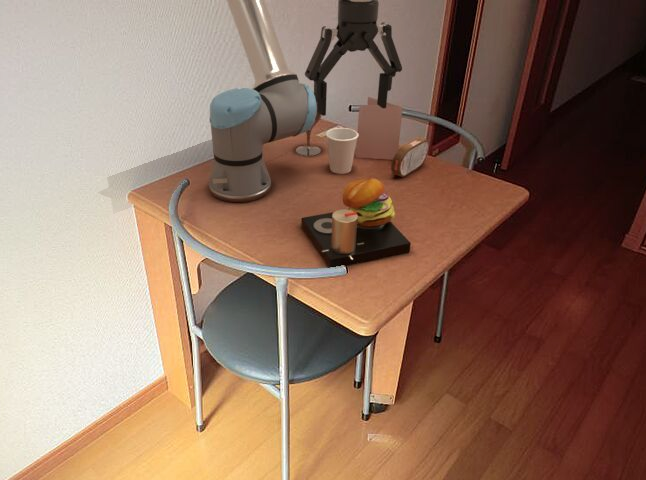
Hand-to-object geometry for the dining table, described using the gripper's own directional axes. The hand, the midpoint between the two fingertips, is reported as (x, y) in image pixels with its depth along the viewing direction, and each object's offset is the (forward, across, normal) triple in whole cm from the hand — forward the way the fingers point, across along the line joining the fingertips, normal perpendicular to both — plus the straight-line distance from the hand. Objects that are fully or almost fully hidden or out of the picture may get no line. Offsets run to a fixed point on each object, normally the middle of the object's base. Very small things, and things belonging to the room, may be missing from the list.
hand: (352, 109), depth 115 cm
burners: (+22, -3, -8) cm, 24 cm away
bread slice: (+25, +25, +15) cm, 38 cm away
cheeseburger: (+22, +2, -8) cm, 23 cm away
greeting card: (+25, +20, +26) cm, 41 cm away
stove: (+25, -3, -11) cm, 27 cm away
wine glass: (+25, +4, +36) cm, 44 cm away
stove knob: (+22, -8, -16) cm, 29 cm away
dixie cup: (+25, +8, +22) cm, 34 cm away
